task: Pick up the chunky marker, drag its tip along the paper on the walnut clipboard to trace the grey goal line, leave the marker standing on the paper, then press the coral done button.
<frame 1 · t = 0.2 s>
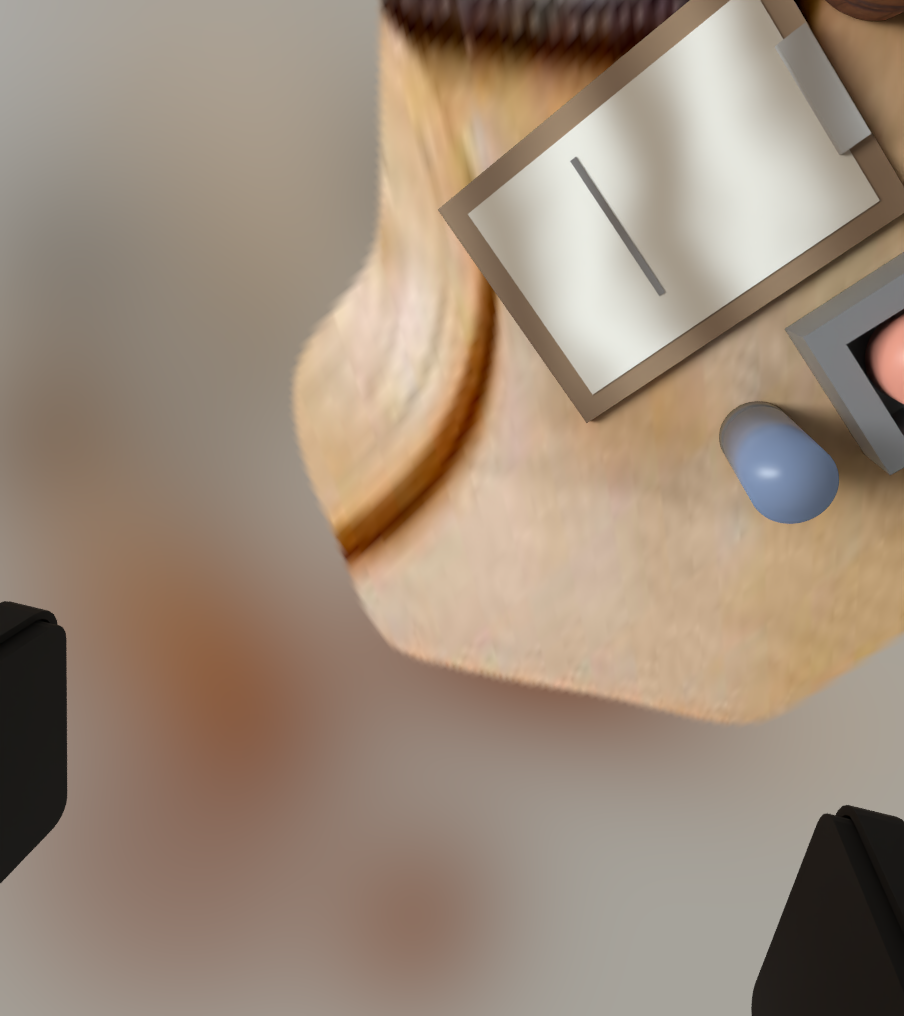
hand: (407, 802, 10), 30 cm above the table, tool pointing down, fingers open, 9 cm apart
clipboard: (663, 208, 35), on the table
marker: (754, 435, 37), on the table
button housing: (900, 347, 35), on the table
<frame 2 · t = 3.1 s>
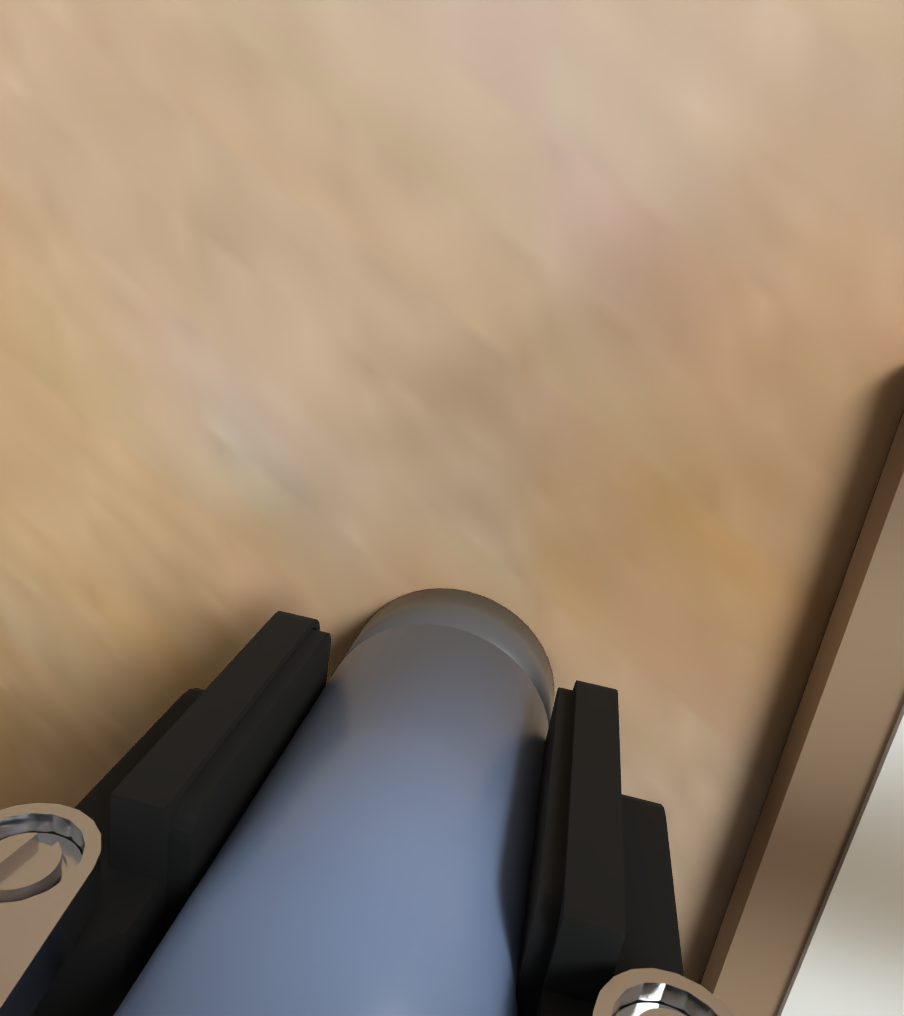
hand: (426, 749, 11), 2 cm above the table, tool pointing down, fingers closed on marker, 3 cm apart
marker: (450, 684, 12), on the table, touching gripper
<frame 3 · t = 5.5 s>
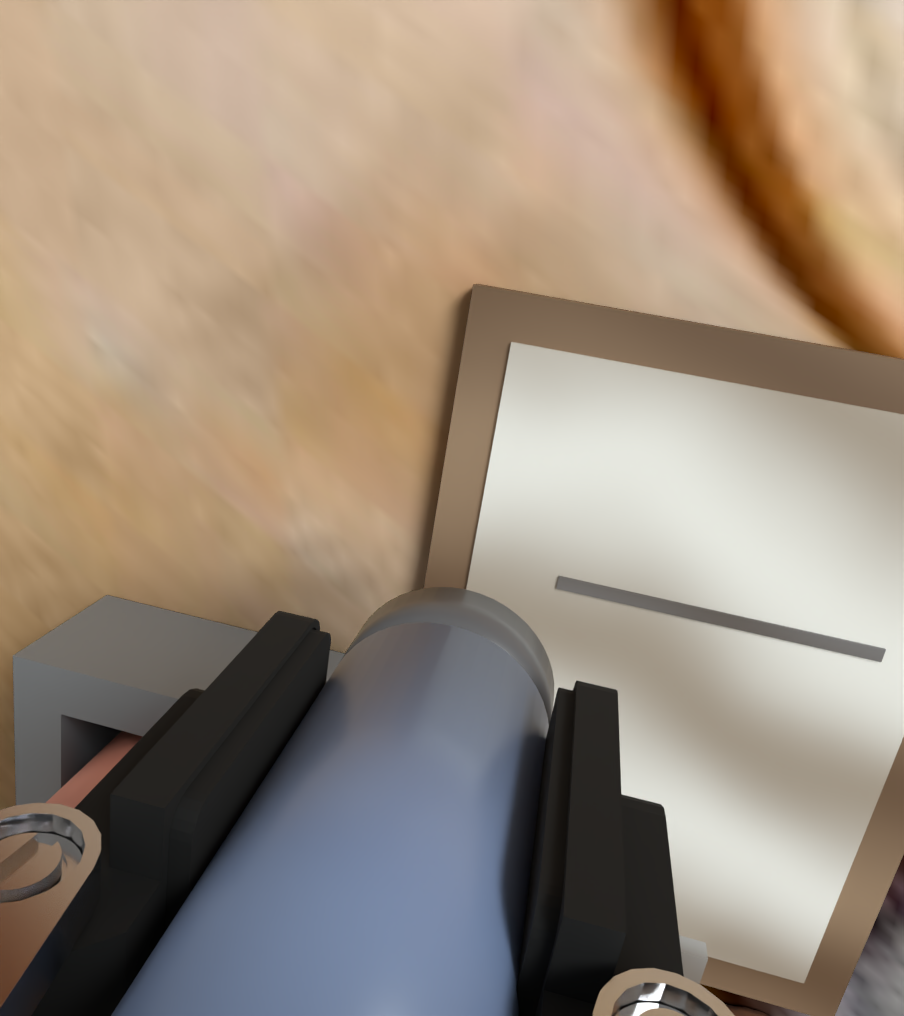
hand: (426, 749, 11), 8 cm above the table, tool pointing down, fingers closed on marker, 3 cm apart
clipboard: (668, 675, 19), on the table
done button: (144, 829, 18), point 4 cm above the table, slide at 0.0 cm
marker: (449, 682, 12), point 7 cm above the table, touching gripper
button housing: (220, 738, 22), on the table
when the fingers open (3 cm above the table, at t = 8.1 s): marker stays where it is, resting on clipboard.
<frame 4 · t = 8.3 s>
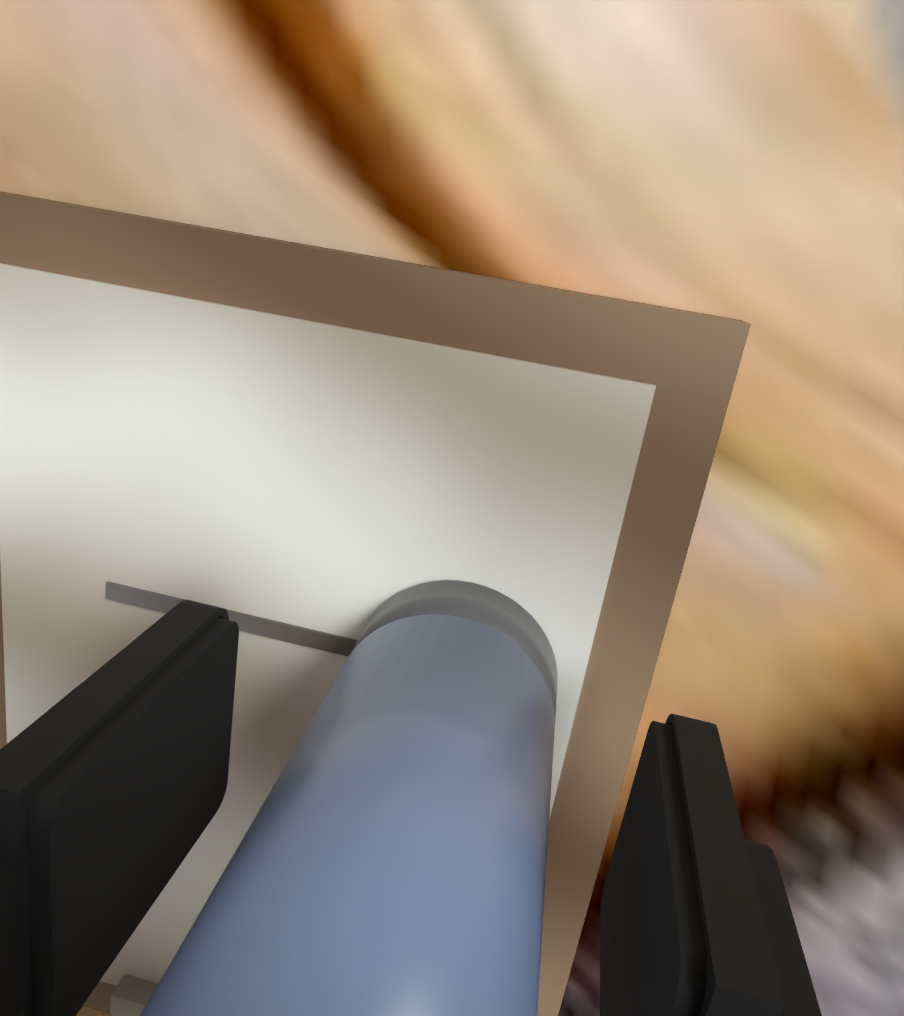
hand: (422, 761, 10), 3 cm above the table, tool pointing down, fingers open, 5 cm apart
clipboard: (282, 709, 14), on the table
marker: (455, 673, 12), point 1 cm above the table, touching clipboard
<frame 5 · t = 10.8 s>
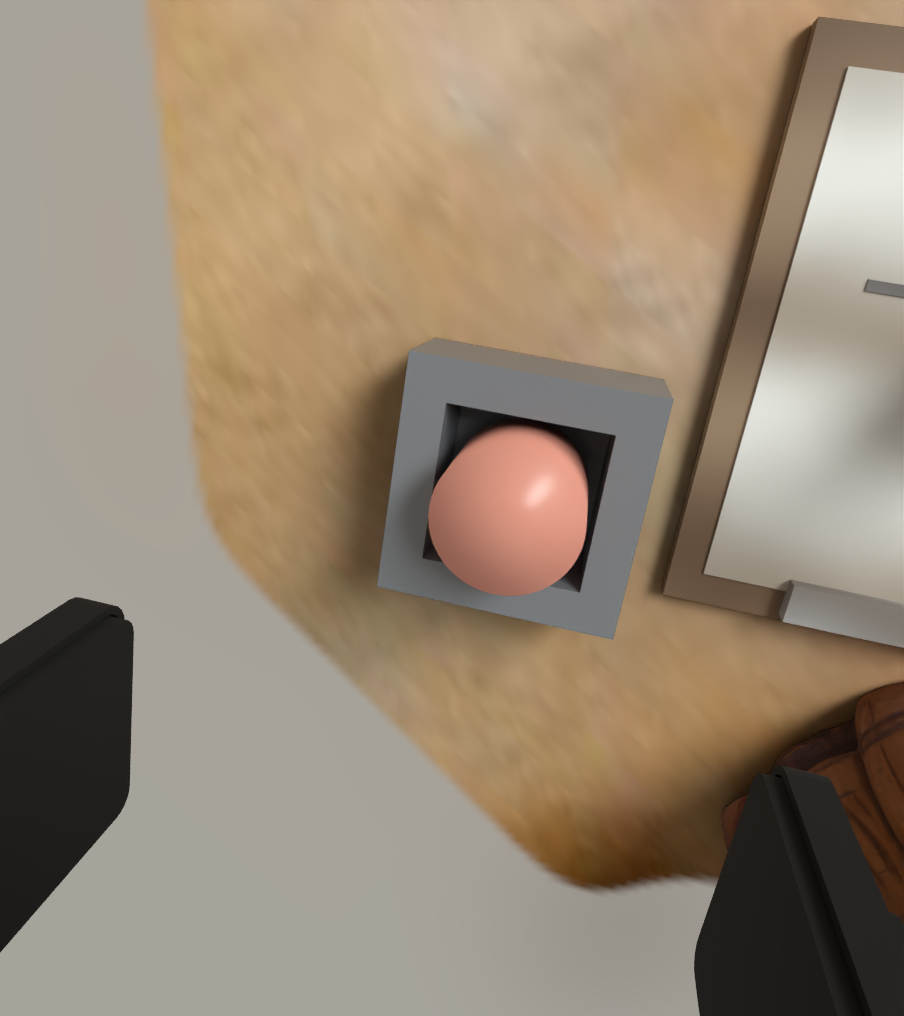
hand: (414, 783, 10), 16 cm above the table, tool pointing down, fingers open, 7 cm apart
done button: (513, 502, 21), point 4 cm above the table, slide at 0.0 cm
wooden figurine: (881, 779, 26), on the table
button housing: (526, 467, 25), on the table
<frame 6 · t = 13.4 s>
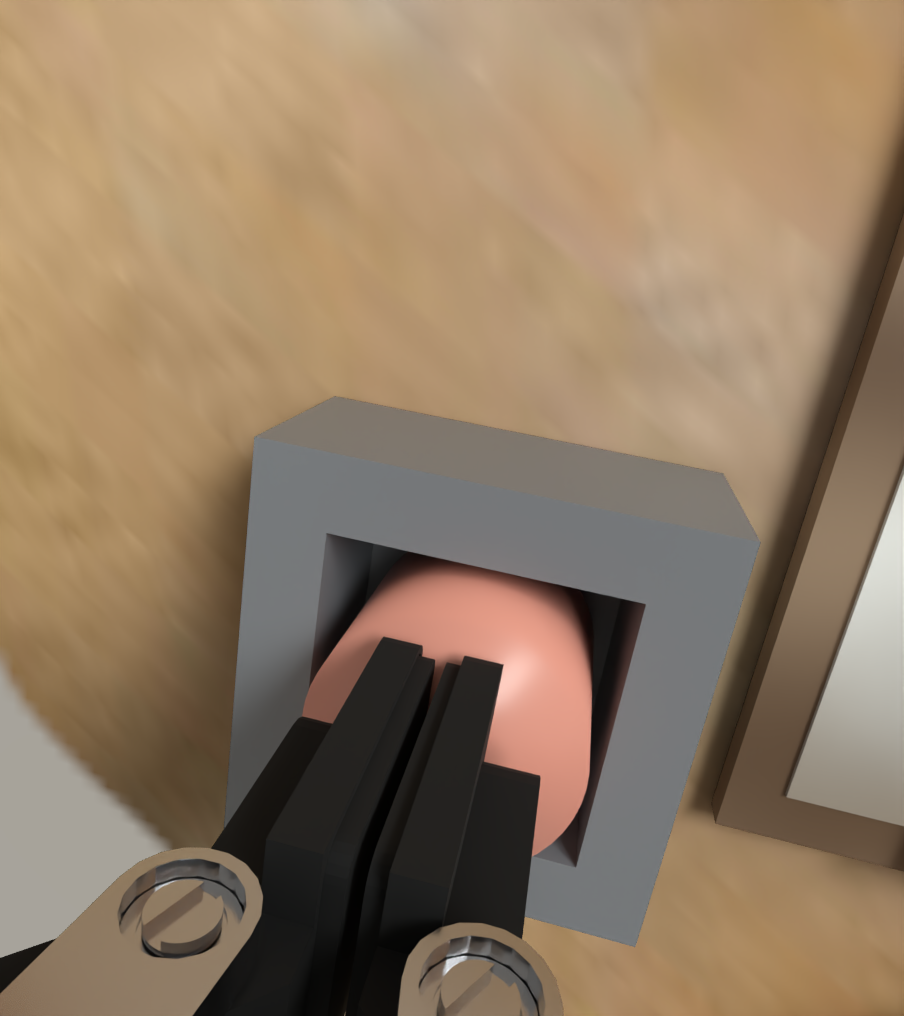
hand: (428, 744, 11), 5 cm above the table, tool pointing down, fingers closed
done button: (462, 686, 12), point 3 cm above the table, slide at 0.9 cm, touching gripper
button housing: (488, 609, 15), on the table
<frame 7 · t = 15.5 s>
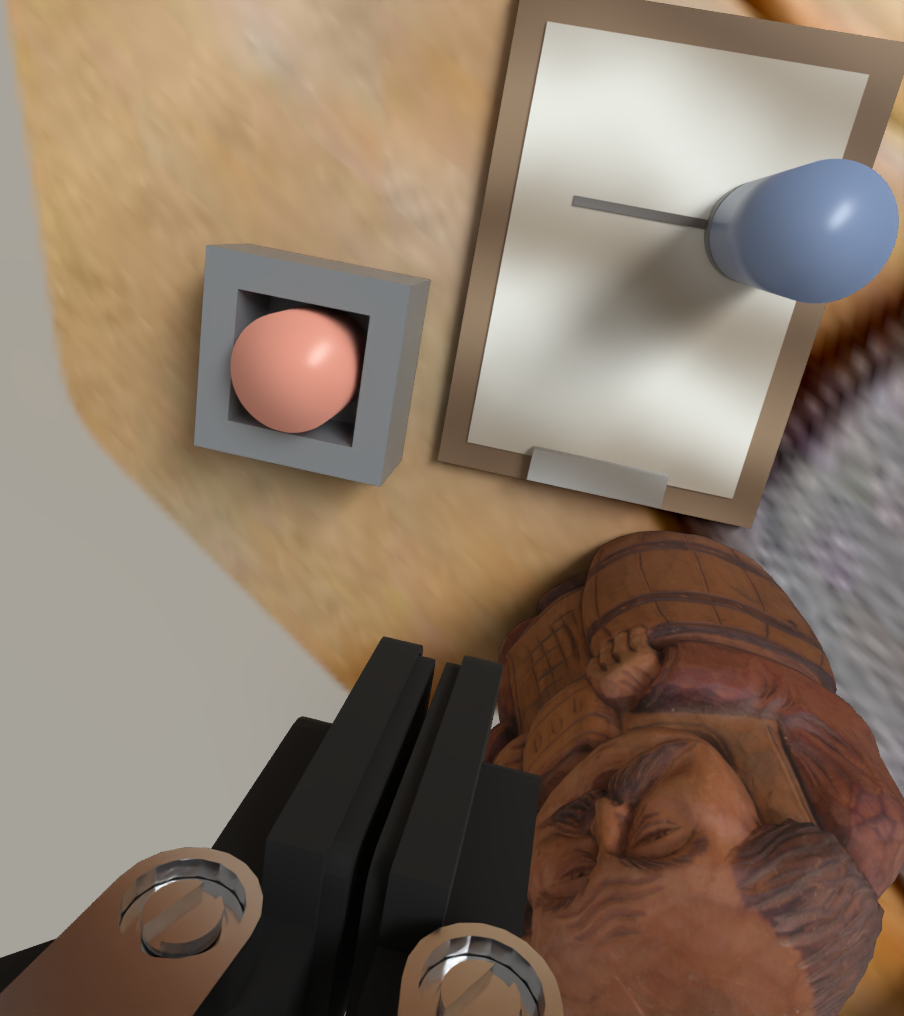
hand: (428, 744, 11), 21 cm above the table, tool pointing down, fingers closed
clipboard: (645, 276, 28), on the table
done button: (304, 365, 28), point 3 cm above the table, slide at 1.2 cm
marker: (754, 233, 26), point 1 cm above the table, touching clipboard
wooden figurine: (622, 618, 32), on the table
button housing: (327, 355, 30), on the table
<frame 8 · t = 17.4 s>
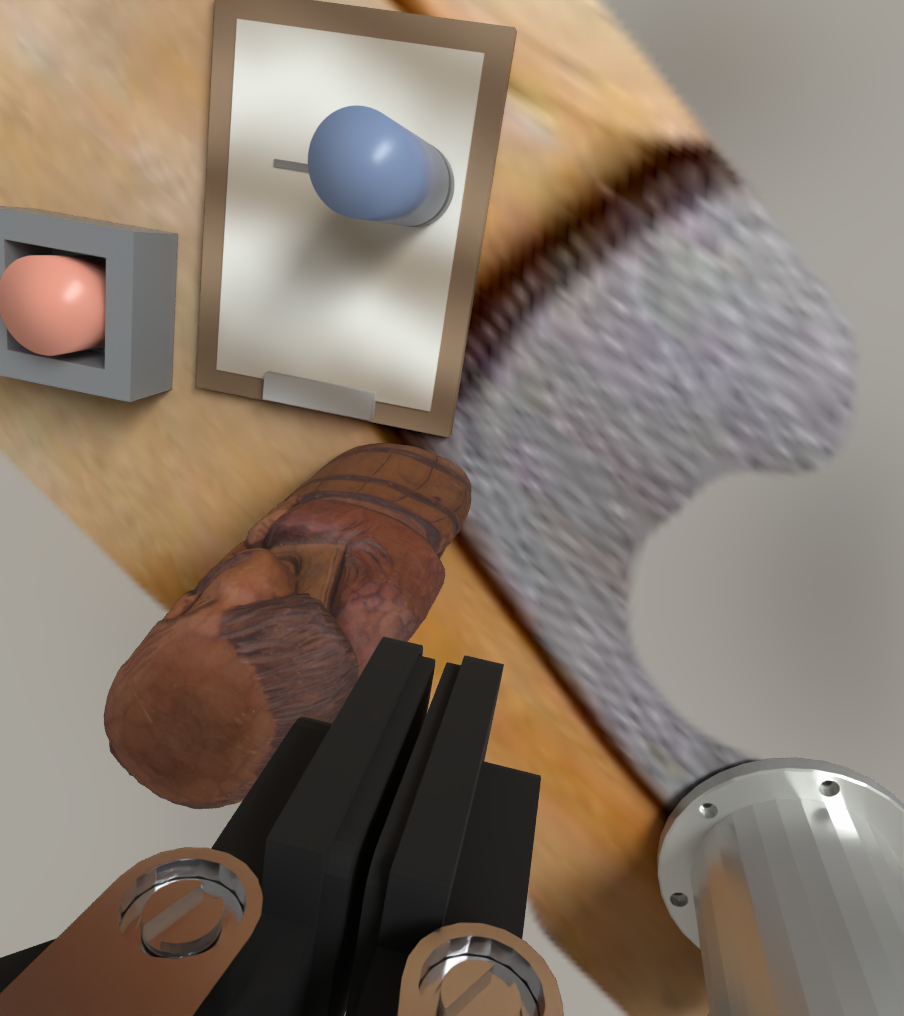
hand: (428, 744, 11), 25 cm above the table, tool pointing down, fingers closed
clipboard: (343, 225, 33), on the table
done button: (68, 304, 34), point 3 cm above the table, slide at 1.2 cm
marker: (415, 185, 32), point 1 cm above the table, touching clipboard
wooden figurine: (365, 523, 38), on the table
button housing: (104, 300, 36), on the table
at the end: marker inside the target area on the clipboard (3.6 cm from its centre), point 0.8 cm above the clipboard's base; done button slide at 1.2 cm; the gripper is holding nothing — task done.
